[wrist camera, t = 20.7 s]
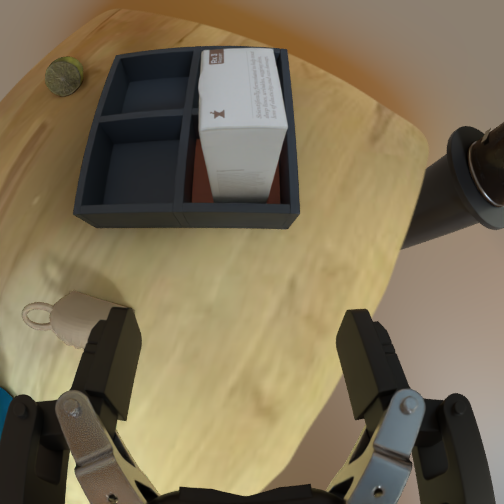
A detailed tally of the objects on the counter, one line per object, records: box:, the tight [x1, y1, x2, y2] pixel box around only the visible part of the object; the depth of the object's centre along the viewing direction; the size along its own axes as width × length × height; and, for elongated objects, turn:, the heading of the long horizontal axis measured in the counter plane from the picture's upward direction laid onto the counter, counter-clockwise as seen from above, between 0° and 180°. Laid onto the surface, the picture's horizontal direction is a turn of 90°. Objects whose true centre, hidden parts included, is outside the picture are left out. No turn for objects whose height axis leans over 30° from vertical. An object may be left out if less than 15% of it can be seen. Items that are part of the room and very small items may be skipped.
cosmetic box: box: [198, 48, 288, 204], centre depth 19 cm, size 6×4×12 cm
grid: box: [73, 46, 300, 229], centre depth 24 cm, size 17×17×5 cm
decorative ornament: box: [22, 291, 135, 349], centre depth 20 cm, size 4×8×5 cm, turn 77°
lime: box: [45, 57, 83, 96], centre depth 24 cm, size 4×5×5 cm
